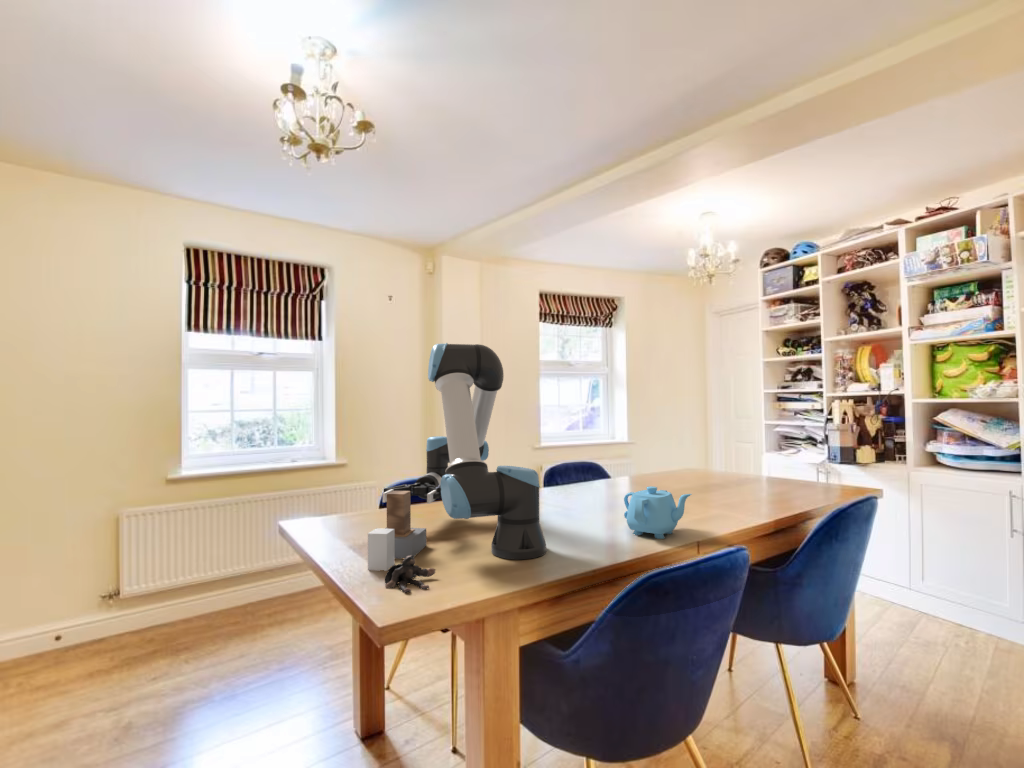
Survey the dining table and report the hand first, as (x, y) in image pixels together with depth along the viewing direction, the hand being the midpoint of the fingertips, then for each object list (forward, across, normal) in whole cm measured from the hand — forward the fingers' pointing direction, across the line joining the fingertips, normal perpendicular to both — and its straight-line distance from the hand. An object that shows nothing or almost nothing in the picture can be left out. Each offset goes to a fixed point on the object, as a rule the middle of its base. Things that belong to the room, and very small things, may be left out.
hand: (405, 498), depth 145 cm
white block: (+19, -1, -14) cm, 24 cm away
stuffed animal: (+28, -11, -14) cm, 33 cm away
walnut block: (+6, 0, -8) cm, 10 cm away
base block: (+6, 0, -13) cm, 15 cm away
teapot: (-20, -74, -14) cm, 78 cm away
